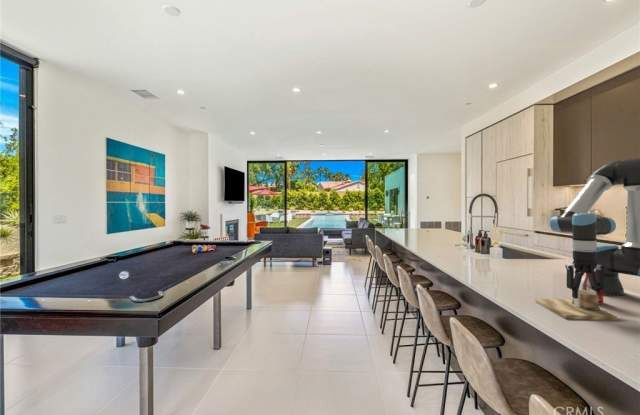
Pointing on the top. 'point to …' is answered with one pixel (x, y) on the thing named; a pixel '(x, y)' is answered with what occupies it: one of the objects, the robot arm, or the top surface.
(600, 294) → the beverage can
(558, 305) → the board
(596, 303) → the block
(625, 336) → the top surface
